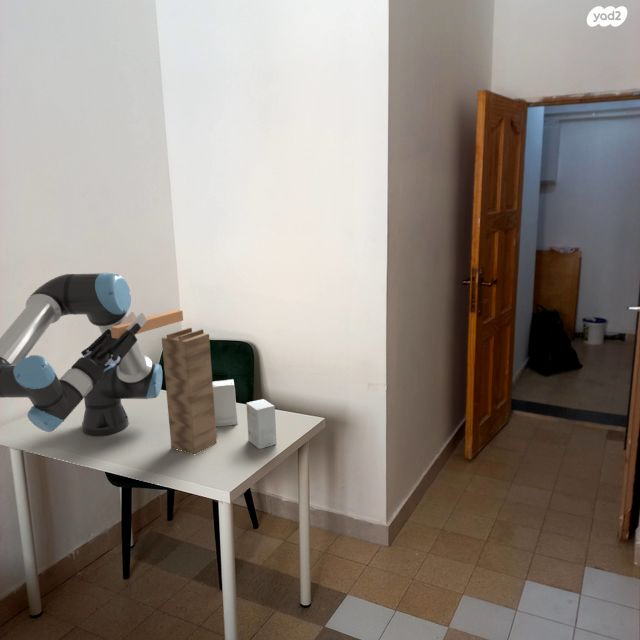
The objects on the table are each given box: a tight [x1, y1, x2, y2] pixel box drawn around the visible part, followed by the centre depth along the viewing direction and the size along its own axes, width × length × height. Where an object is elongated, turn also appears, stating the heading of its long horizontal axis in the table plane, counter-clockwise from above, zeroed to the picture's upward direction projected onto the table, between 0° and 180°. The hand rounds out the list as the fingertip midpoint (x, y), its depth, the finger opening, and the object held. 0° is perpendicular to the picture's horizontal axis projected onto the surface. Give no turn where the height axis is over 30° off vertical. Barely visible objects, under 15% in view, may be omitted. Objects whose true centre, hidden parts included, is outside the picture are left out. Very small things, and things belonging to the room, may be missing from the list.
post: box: [161, 327, 218, 455], centre depth 186 cm, size 10×10×37 cm
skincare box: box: [212, 378, 239, 427], centre depth 206 cm, size 8×6×15 cm
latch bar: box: [111, 309, 184, 339], centre depth 169 cm, size 3×24×3 cm, turn 149°
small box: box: [246, 398, 277, 449], centre depth 189 cm, size 8×6×13 cm
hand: (139, 316), depth 165 cm, fingers closed on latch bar, 3 cm apart
